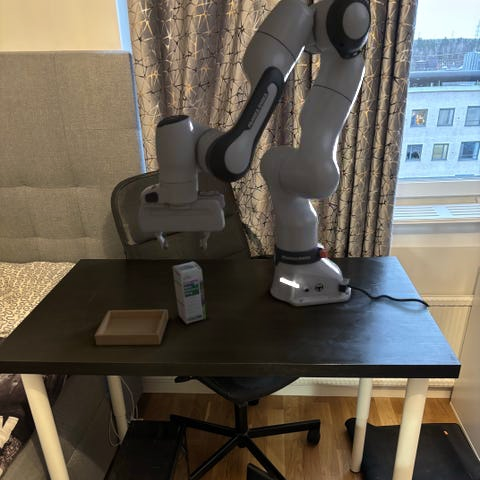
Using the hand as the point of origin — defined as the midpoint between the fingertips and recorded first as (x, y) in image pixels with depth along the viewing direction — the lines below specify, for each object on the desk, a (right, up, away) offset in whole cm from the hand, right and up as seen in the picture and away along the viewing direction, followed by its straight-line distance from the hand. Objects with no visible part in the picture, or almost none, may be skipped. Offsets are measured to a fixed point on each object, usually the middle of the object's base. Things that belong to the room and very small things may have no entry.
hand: (184, 248), depth 121 cm
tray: (-13, -21, +4) cm, 25 cm away
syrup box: (+1, -17, +10) cm, 20 cm away
